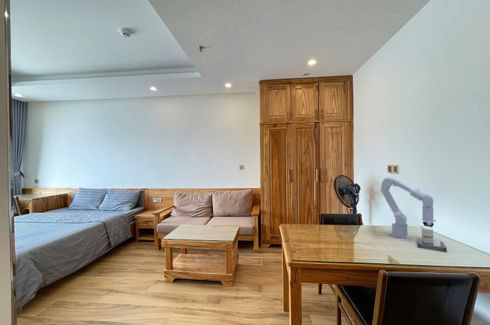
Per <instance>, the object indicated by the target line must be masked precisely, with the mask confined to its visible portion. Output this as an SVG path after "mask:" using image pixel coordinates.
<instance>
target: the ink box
mask: <svg viewBox="0 0 490 325" xmlns="http://www.w3.org/2000/svg"><path fill="white" fill-rule="evenodd" d="M421 244H427V245H434V229H433V227H432V228H431V226H424V224H423V225H421Z"/></svg>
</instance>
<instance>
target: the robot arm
mask: <svg viewBox="0 0 490 325" xmlns="http://www.w3.org/2000/svg"><path fill="white" fill-rule="evenodd" d="M391 187H398V188H401V190H402V189H403V190H404V191H405V192H408V193H409V194H410V196H412V197H413V198H414V199H416V200H418V201H421V202H422V213H421V214H422V215H421V216H422V218H421V220H422V224H423V226H431V228H432V229H433V226H434V222H437V221H436V219H434V203H435V202H434V198H433V197H432V196H431V195H430V194H428V193H424V191H421V189H419V188H412V187H410V186H408V185H407V184H405V183H403V182H402V181H400V180H398V179H396V178H393V177H391V176H387V177H385V178H384V179H383V180H382V182H381V188H380V192H381V194H382V196H383V197H384V199H385V201H386V202H387V204H388V206H389V208H390V210H391V211H392V213H393V217H394V218H395V219H394V220H395V223H392V224H391V234H392V237H393V238H400V239H407V240H408V239H409V234H408V232H409V230H408V223H407V219H408V218H407V215H405V214H404V213H403V211H401V209H400V207H399V205H398V204H397V202H396V201H395V199H394V197H393V196H392V193H391V192H390V189H391Z"/></svg>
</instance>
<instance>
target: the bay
mask: <svg viewBox="0 0 490 325" xmlns="http://www.w3.org/2000/svg"><path fill="white" fill-rule="evenodd" d="M416 243H417V248H419V249H424V250H431V251H435V252H442V251H443V252H442V253H447V252H448V250H447V248H448V247H446V244H445V243H444V241H440V242H439V243H440V246H439V245H434V244H433V245H427V244H423V243H422V242H421V240H420V238H419V237H416Z"/></svg>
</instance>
